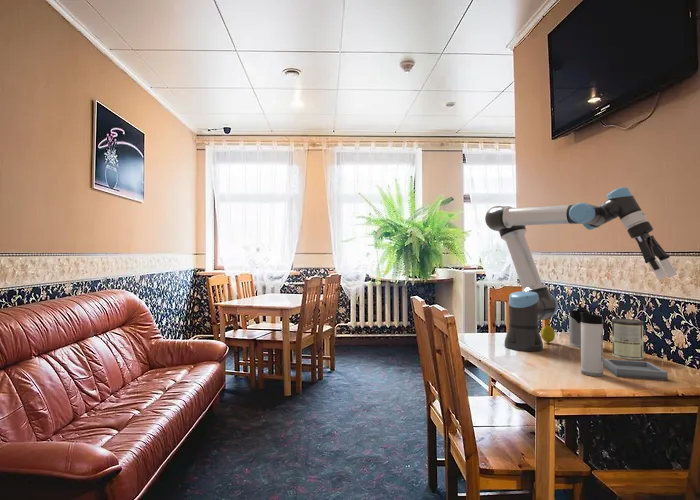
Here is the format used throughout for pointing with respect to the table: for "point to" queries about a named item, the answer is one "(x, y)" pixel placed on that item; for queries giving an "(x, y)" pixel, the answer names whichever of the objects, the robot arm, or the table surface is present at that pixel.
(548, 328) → the lemon
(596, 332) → the travel mug
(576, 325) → the lidded pitcher
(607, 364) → the tray
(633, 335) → the coffee can
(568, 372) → the table surface
